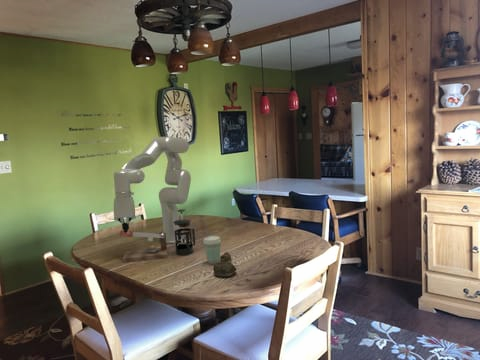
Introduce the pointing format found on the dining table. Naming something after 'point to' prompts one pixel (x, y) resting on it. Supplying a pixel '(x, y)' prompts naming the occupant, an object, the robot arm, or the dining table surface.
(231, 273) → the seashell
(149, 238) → the lever
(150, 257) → the base
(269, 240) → the dining table surface
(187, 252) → the french press
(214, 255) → the coffee cup
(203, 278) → the dining table surface
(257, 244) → the dining table surface
